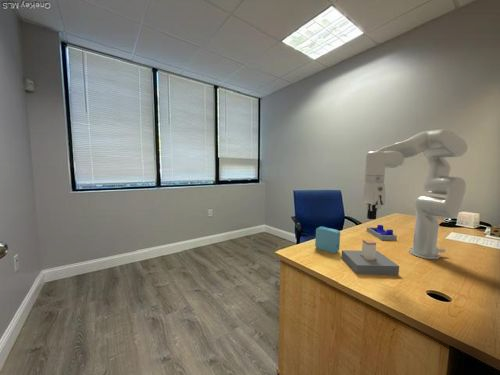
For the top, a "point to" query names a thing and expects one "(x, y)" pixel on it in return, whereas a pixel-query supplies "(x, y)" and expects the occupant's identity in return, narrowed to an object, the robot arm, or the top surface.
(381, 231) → the cable clip
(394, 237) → the desk tray
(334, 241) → the data package
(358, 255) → the socket plate
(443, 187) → the robot arm
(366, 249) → the plug
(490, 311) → the top surface
